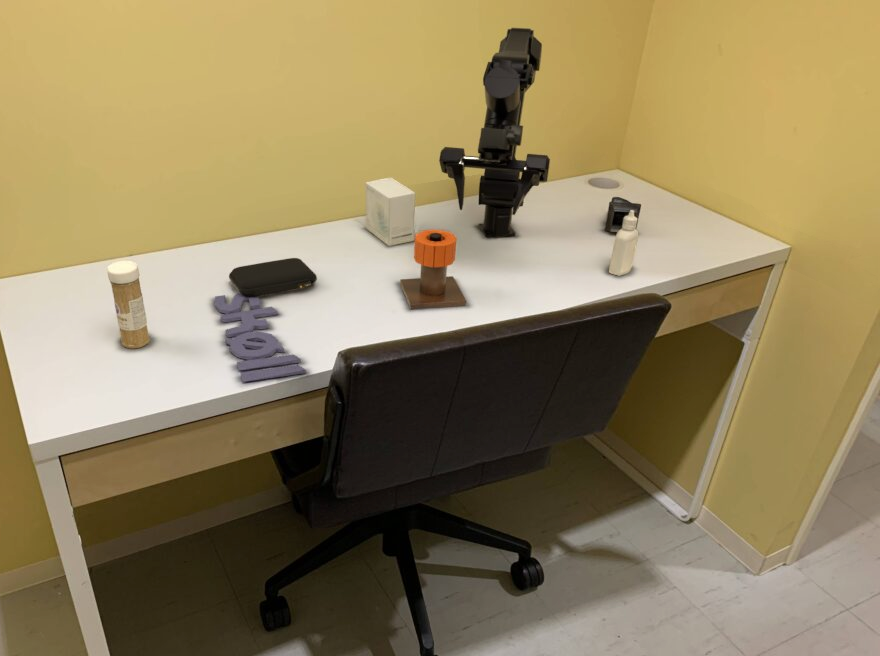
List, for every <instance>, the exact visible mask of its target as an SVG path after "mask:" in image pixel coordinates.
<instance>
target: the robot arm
mask: <svg viewBox="0 0 880 656" xmlns="http://www.w3.org/2000/svg"><path fill="white" fill-rule="evenodd" d="M534 34H535V30H534V29H531V28H527V27H526V28H525V27H511V28H508V29H507V31H506V36H505V37H504V38H503V39H502V40H500V42H499V49H498V52H495V53H494V54H493V56H492V57H491V61H488V62H487V64H486V68H485V71H484V74H483V78H482V84H483V86H484V97H485V105H486V111H485V118H484V122H483V127H481V128H480V136H479V141H478V146H477V154H478V156H474V155H466V154H465V153H466V152H465V148H463V147H453V146H452V147H451V146H444V147H443V148H442V149H441V150H440V154H439V159H438V163H439V165H440V171H441V173H443V174H446V175H447V177H448V178H449V179H453V181H454V185H455V189H456V194H457V201H458V202H457V203H458V208H459V210H460V211H463V207H464V203H465V202H464V200H465V183H466V181H465V179H466V176H465V169H466V168H471V169H481V170H484V172H483V175H481V174H480V179H479V185H478V202H477V205H478V206H484V216H483V222H481V223H478V224H477V226H478V228H479V230H480V231H481V232H482V234H483V235H484V237H486V238H494V237H495V238H499V237H500V238H501V237H515V236H516V231H515V230H514V229H513V228H512V218H513V216H515V215H516V214H517V212H518V210H519V208H520V207H523V206H524V201H525V198H526V196H527V195H528V194H529V192H530V191H531V190H532V188H533V187H539V185H540V183H547V182H548V179H549V172H550V162H551V159H550V158H549V156H548V155H547V154H535V153H527V154H526V157H525V158H526V159H525V160H523V159H522V160H521V159H517V158H516V154H517V149H518V147H520V146H521V145H522V140H523V139H522V138H523V130H524V125H521V123H522V122H521V121H522V115H523V108H524V101H525V94H526V92H527V91H528V90H529V89H530V88H531V86H532V85H533V84H534V83H535V79H536V73H537V72H540V69H541V62H542V52H543V50H542V48H543V44H542V42H540V40H539V39H538V38H537V37H535V36H534Z"/></svg>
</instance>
